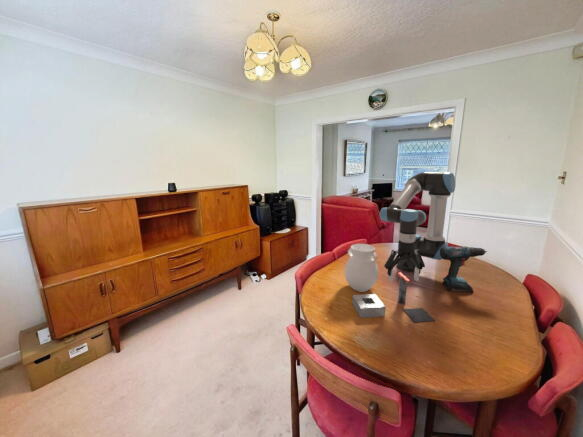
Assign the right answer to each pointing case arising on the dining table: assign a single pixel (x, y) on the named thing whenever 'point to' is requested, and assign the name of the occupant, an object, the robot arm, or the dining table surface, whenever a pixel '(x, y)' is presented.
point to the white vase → (361, 267)
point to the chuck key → (402, 288)
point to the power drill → (457, 260)
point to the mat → (418, 315)
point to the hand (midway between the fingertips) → (403, 280)
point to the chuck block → (368, 305)
